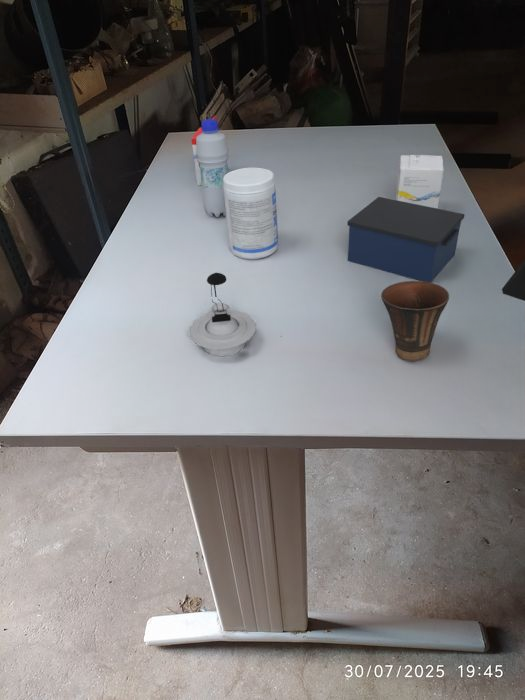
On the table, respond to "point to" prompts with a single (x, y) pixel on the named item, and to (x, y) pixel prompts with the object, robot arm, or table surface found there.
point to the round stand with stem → (222, 326)
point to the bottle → (212, 166)
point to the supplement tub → (251, 212)
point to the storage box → (403, 238)
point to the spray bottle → (197, 165)
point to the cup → (414, 315)
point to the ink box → (420, 179)
